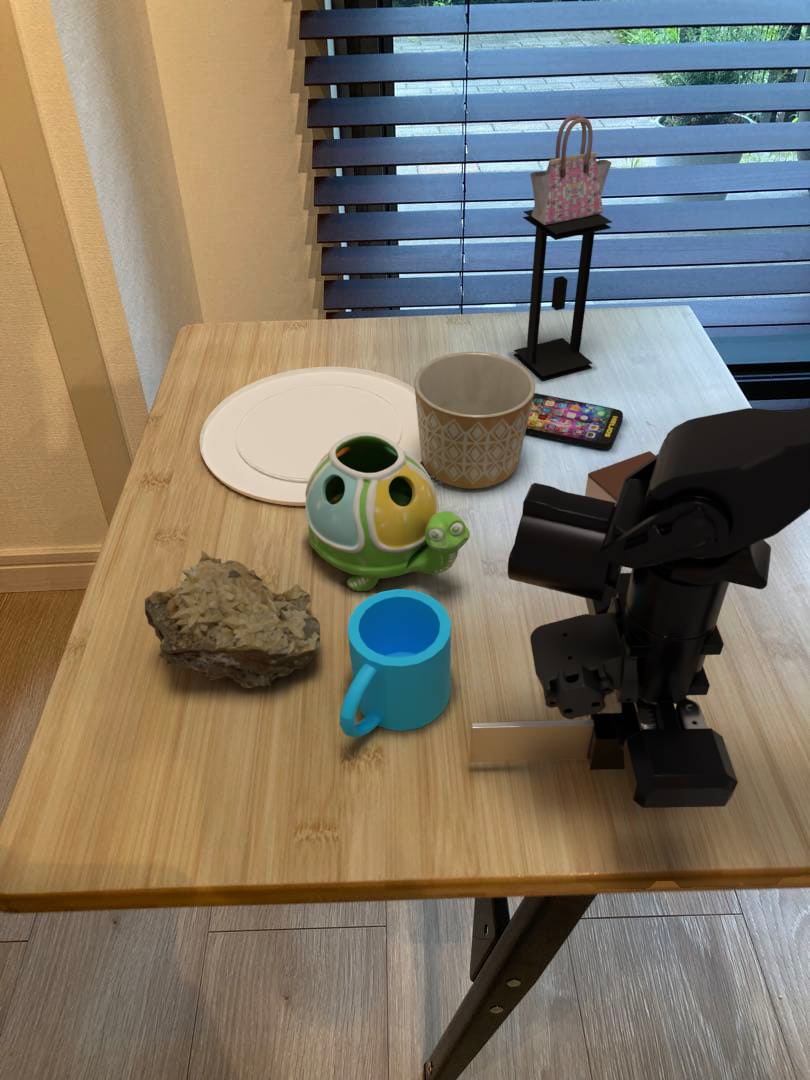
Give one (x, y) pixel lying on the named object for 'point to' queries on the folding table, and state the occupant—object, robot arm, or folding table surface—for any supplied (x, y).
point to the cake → (613, 477)
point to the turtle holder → (378, 513)
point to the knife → (550, 741)
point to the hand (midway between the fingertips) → (634, 748)
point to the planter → (472, 417)
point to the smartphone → (573, 421)
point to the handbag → (562, 212)
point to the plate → (302, 427)
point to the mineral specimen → (233, 624)
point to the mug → (397, 662)
